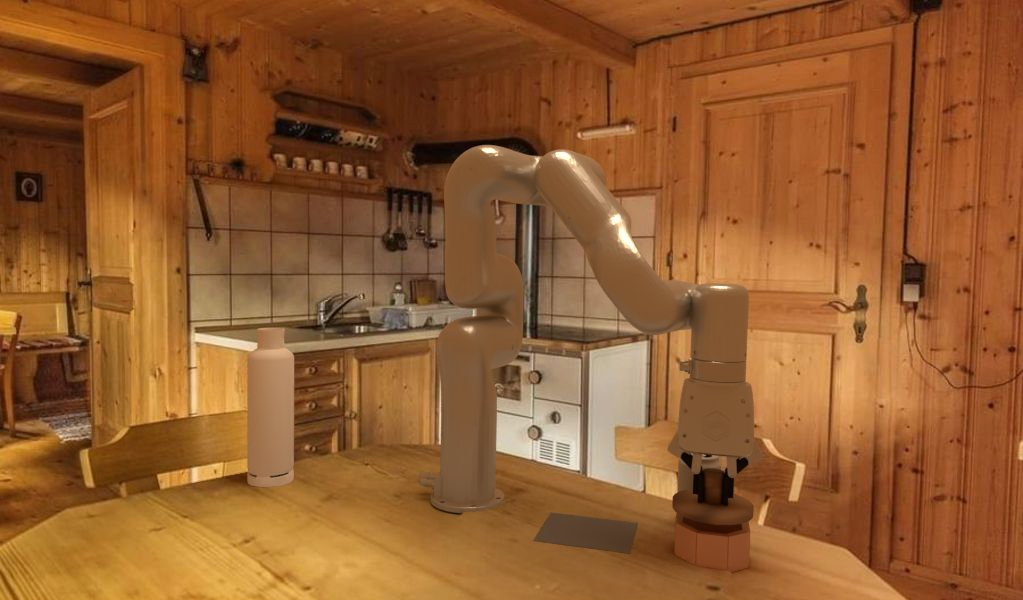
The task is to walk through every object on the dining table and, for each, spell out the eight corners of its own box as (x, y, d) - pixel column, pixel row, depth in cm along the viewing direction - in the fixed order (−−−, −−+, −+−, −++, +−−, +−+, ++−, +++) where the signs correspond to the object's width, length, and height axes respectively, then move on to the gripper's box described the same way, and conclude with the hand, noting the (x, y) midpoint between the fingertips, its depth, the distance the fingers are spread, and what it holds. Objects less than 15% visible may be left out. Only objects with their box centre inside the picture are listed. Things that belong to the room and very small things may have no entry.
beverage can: (720, 539, 105) (723, 460, 104) (676, 534, 106) (679, 457, 105) (716, 523, 111) (719, 449, 110) (675, 519, 112) (678, 446, 111)
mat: (533, 544, 101) (533, 540, 101) (550, 515, 113) (550, 512, 113) (629, 557, 97) (629, 553, 97) (637, 526, 109) (637, 522, 109)
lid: (670, 519, 94) (671, 478, 94) (673, 493, 105) (675, 456, 104) (756, 529, 91) (757, 487, 91) (750, 501, 102) (752, 464, 101)
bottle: (285, 487, 124) (285, 331, 122) (240, 486, 124) (240, 330, 122) (299, 473, 132) (300, 327, 130) (257, 472, 132) (257, 326, 130)
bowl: (673, 566, 95) (674, 530, 94) (676, 538, 104) (677, 506, 104) (750, 576, 92) (751, 539, 92) (745, 547, 102) (747, 513, 101)
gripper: (656, 372, 95) (652, 503, 96) (782, 380, 91) (776, 517, 92) (659, 364, 103) (655, 486, 104) (776, 371, 98) (771, 499, 99)
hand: (712, 499), depth 98 cm, fingers closed on lid, 2 cm apart
